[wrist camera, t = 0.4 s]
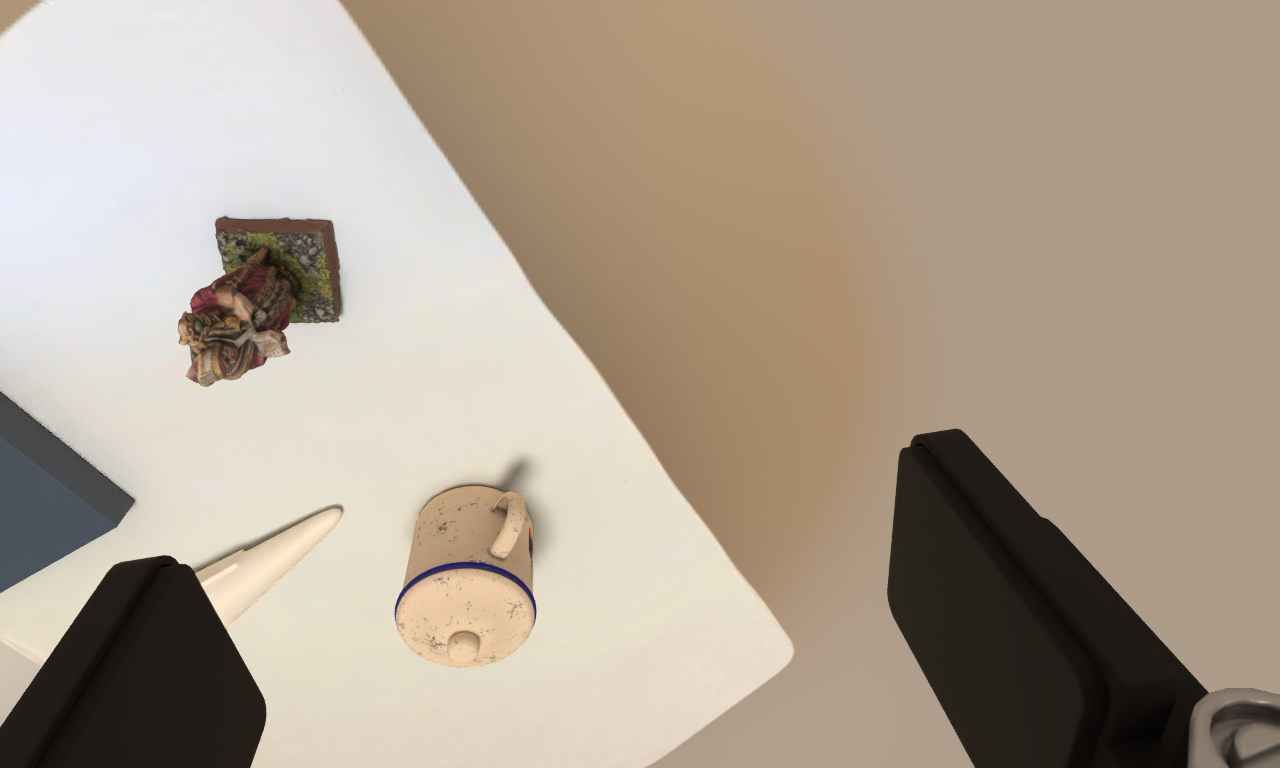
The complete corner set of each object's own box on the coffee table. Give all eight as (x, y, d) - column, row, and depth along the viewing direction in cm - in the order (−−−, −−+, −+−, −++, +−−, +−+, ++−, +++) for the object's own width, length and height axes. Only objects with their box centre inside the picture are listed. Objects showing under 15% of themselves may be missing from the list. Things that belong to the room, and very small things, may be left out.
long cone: (391, 544, 58) (177, 658, 59) (341, 483, 56) (118, 604, 56) (381, 590, 53) (146, 715, 54) (325, 526, 51) (79, 658, 51)
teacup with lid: (502, 587, 60) (495, 716, 50) (392, 549, 57) (362, 679, 47) (576, 479, 55) (586, 598, 45) (462, 432, 52) (446, 548, 42)
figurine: (239, 319, 46) (154, 429, 36) (214, 216, 43) (113, 305, 32) (347, 319, 47) (294, 427, 37) (331, 218, 43) (268, 305, 33)
